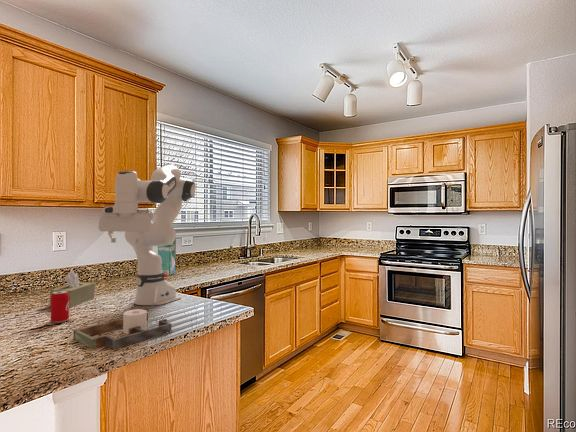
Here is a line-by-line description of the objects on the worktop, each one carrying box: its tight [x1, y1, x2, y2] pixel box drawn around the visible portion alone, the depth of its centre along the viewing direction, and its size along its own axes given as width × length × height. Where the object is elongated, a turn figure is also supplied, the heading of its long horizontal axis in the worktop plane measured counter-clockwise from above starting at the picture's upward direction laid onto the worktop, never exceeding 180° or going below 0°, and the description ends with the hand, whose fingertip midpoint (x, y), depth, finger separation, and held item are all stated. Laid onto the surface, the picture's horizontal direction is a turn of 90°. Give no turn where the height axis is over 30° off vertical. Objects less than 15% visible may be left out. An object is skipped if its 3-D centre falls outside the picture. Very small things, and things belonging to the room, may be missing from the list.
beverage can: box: [50, 291, 70, 324], centre depth 143 cm, size 6×6×12 cm
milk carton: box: [157, 238, 177, 276], centre depth 251 cm, size 9×9×25 cm
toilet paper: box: [122, 308, 148, 335], centre depth 135 cm, size 8×11×7 cm
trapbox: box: [73, 312, 173, 350], centre depth 129 cm, size 28×20×3 cm
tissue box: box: [49, 270, 95, 309], centre depth 172 cm, size 19×10×16 cm, turn 176°
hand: (125, 242), depth 147 cm, fingers open, 8 cm apart
